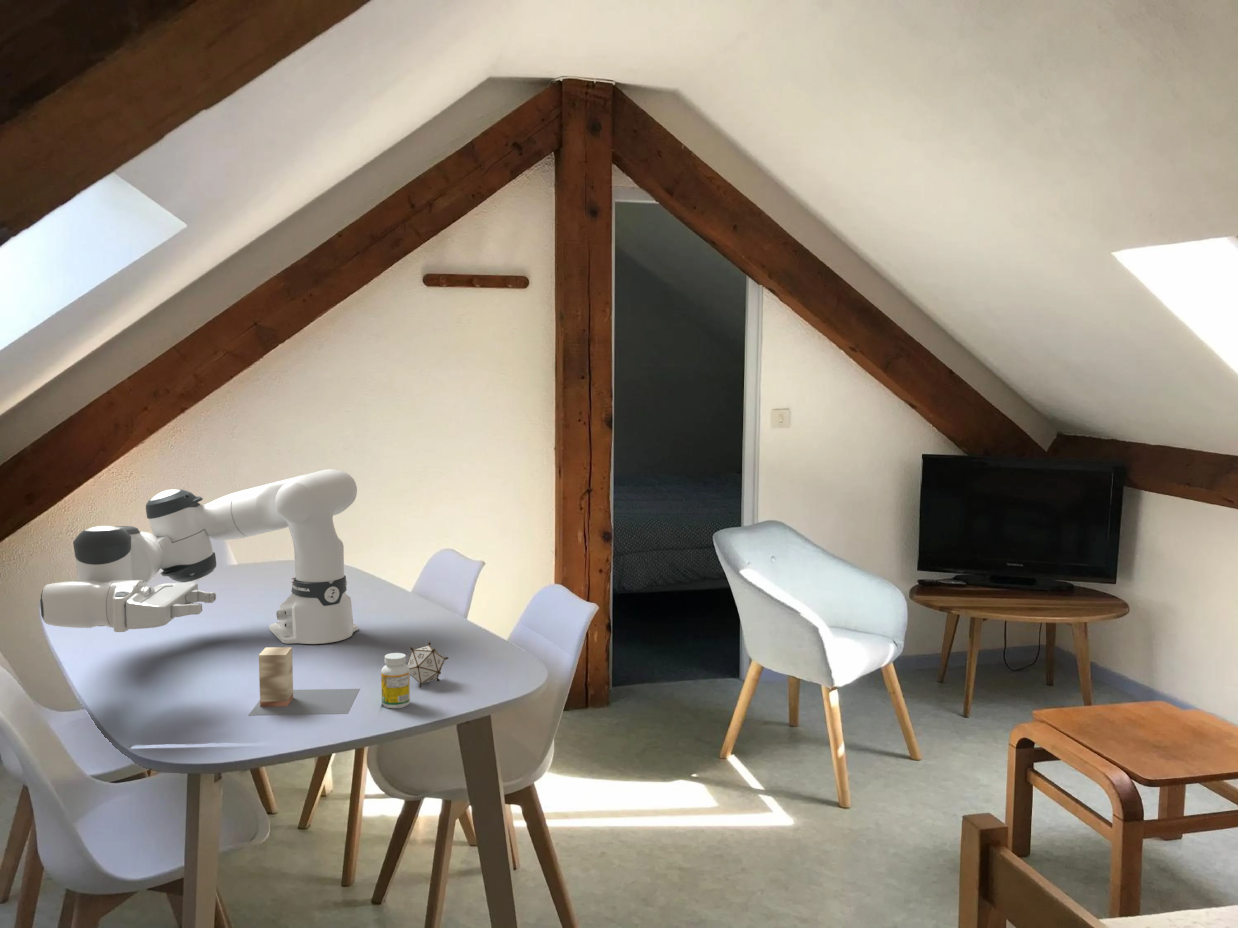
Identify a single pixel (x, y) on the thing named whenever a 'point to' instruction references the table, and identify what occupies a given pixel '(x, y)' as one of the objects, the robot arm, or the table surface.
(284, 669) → the birch block
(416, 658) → the game die
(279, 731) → the table surface
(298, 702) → the rubber mat
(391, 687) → the supplement bottle
